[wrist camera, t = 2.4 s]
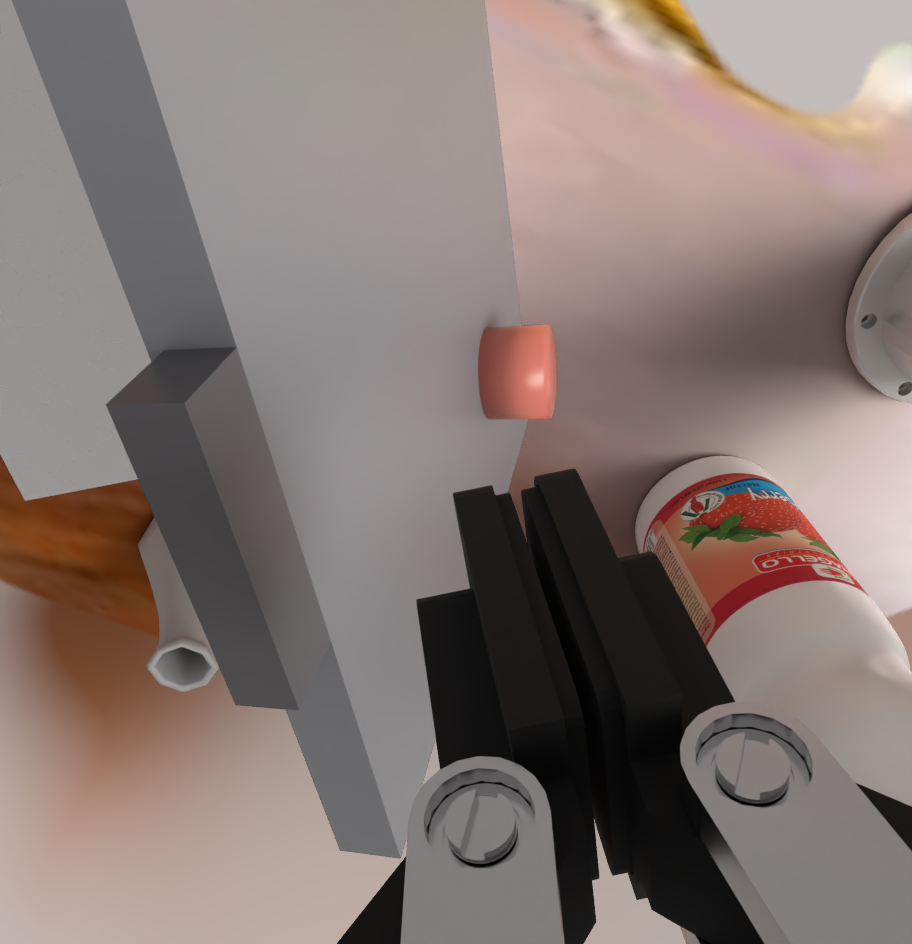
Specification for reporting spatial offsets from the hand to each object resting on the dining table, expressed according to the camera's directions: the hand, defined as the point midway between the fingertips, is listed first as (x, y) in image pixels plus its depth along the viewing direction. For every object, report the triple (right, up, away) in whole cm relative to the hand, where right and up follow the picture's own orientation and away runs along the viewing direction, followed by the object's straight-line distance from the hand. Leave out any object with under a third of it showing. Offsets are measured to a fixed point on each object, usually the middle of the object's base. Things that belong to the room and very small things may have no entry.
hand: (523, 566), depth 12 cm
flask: (-16, -3, +38) cm, 41 cm away
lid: (-3, +6, +10) cm, 12 cm away
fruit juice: (+15, -1, +42) cm, 44 cm away
